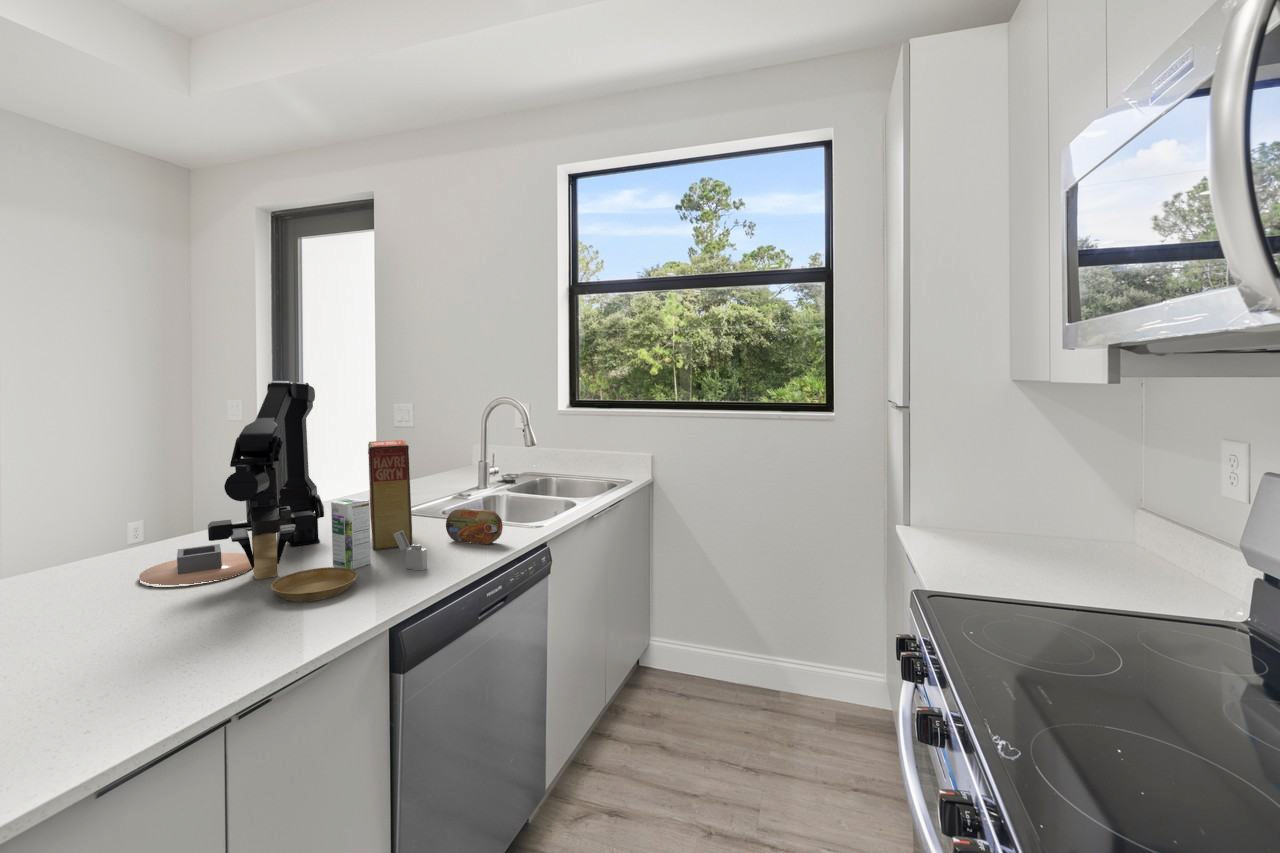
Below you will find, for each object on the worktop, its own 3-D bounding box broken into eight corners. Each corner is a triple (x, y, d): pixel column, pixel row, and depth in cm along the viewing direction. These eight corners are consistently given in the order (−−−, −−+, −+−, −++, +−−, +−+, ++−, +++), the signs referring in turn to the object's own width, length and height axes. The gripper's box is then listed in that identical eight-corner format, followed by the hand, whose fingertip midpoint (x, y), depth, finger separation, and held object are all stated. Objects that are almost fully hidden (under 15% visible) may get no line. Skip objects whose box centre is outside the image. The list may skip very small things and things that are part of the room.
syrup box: (331, 567, 132) (329, 501, 131) (355, 560, 138) (353, 496, 136) (348, 571, 130) (346, 504, 128) (372, 563, 135) (370, 499, 134)
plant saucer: (368, 593, 118) (368, 580, 117) (282, 613, 107) (281, 598, 107) (343, 574, 128) (343, 562, 128) (263, 591, 118) (262, 578, 118)
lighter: (427, 568, 132) (426, 531, 132) (422, 570, 131) (421, 533, 130) (399, 565, 134) (398, 529, 133) (394, 567, 132) (393, 531, 132)
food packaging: (370, 537, 157) (367, 440, 155) (409, 533, 161) (407, 439, 159) (371, 550, 145) (368, 446, 143) (413, 546, 149) (411, 444, 147)
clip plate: (252, 552, 143) (251, 533, 143) (259, 575, 127) (258, 554, 126) (142, 567, 131) (141, 547, 131) (135, 595, 115) (134, 571, 115)
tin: (445, 541, 154) (444, 508, 153) (452, 538, 157) (452, 505, 156) (498, 546, 149) (497, 512, 149) (504, 543, 152) (504, 509, 152)
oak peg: (275, 570, 129) (274, 529, 129) (278, 576, 126) (276, 533, 125) (253, 574, 127) (251, 532, 126) (255, 579, 124) (253, 536, 123)
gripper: (206, 503, 113) (211, 585, 114) (318, 492, 124) (321, 567, 125) (206, 494, 122) (210, 570, 123) (310, 484, 133) (313, 554, 134)
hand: (265, 565), depth 126 cm, fingers closed on oak peg, 4 cm apart
